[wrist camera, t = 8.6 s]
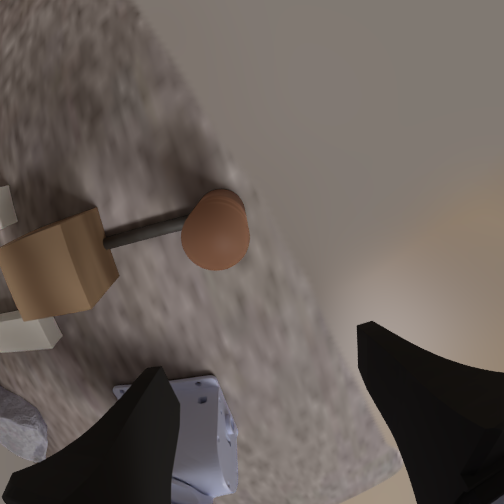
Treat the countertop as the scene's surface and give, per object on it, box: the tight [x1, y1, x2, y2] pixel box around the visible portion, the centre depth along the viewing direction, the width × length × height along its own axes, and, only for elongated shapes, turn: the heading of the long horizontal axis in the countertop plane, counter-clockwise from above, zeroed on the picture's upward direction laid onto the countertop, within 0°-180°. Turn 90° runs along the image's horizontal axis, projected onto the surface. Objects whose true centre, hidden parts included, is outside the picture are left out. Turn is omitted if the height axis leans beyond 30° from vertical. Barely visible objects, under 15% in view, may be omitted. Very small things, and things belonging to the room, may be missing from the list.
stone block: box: [0, 386, 48, 463], centre depth 24 cm, size 12×5×10 cm
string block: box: [0, 189, 250, 322], centre depth 16 cm, size 16×5×6 cm, turn 102°
